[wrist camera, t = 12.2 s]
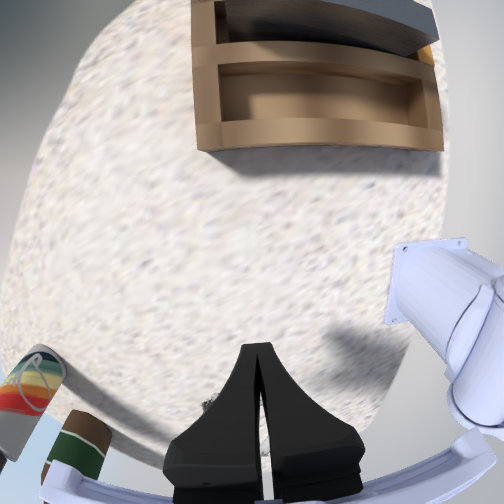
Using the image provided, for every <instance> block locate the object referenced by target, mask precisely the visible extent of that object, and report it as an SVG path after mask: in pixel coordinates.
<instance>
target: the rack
mask: <svg viewBox="0 0 504 504" xmlns="http://www.w3.org/2000/svg"><path fill="white" fill-rule="evenodd" d="M413 1H414V0H413ZM191 47H192V74H193V93H194V110H195V124H196V137H197V150H200V151H204V152H211V151H220V150H231V149H242V148H256V147H273V146H301V145H339V146H367V147H384V148H396V149H407V150H417V151H444V142H443V128H442V118H441V109H440V102H439V95H438V88H437V83H436V77H435V72H434V60H433V56H432V52H431V48H430V44H429V45H427V46H425V47H423V48H421V49H419V50H417V51H415V52H414V53H412V54H410V55H408V56H406V57H401V56H397V55H393V54H389V53H384V52H380V51H375V50H369V49H364V48H358V47H352V46H344V45H337V44H327V43H316V42H300V41H253V42H236V43H230V42H229V33H228V25H227V17H226V9H225V0H191Z"/></svg>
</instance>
